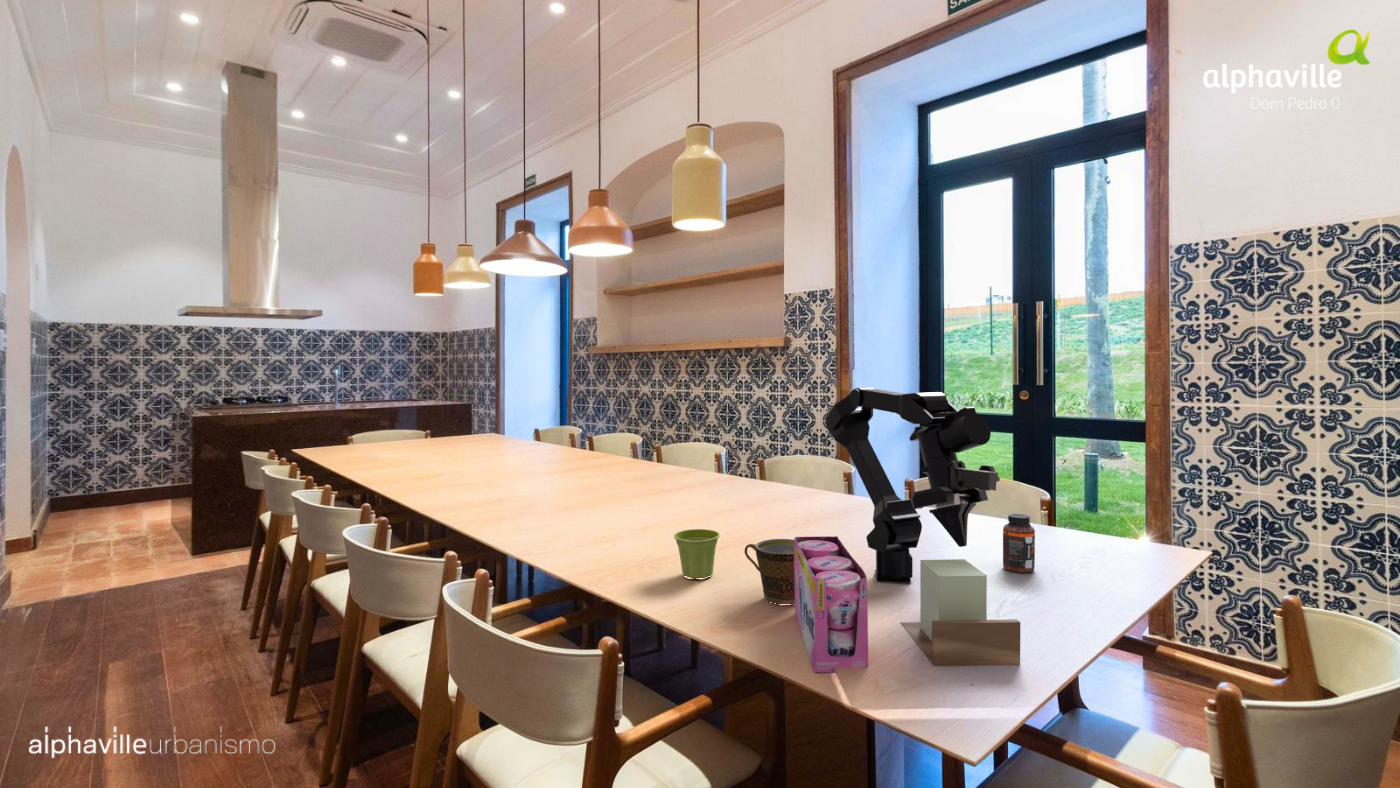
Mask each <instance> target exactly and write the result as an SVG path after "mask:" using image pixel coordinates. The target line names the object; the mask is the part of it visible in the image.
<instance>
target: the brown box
mask: <svg viewBox="0 0 1400 788" xmlns="http://www.w3.org/2000/svg"><path fill="white" fill-rule="evenodd" d="M900 625H901V626H902V627H903V628H904V630H905V631H906V632H907V634H908V635H909V636H910V637H911V638H912V640H913V641H914V642H915V643H916V645H917V646H918V647H919V649H920V650H921V651H922V652H923V654H924V656H926V658H927V659H928V660H929V661H930V663H931V664H932V665H933V666H934V667H938V666H940V667H941V666H944V667H945V666H950V667H951V666H952V667H953V666H1002V665H1006V666H1009V665H1011V666H1012V665H1017V666H1018V665H1021V621H1019V619H1016V618H1014V619H987V620H942V621H932V641H931V640H930V639H929V638H928V636H927V635H926V634H925V633H924V632H923V631H922V629H921V628H920V621H917V622H916V621H913V622H910V621H909V622H900Z"/></svg>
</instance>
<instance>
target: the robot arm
mask: <svg viewBox="0 0 1400 788" xmlns="http://www.w3.org/2000/svg"><path fill="white" fill-rule="evenodd" d="M860 407H861V408H860ZM874 410H878V411H882V412H883V411H884V412H888V413H894V414H897V415H898V416H899V417H900V418H901V419H902V420H904V421H907V422H908V423H911V424H912V425H921V424H922V425H925V426H915V427H914V429H913V432H912V433H911V434H910V436H909V441H911V442H914V441H916V442H917V441H918V444H919V447H920V453H921V456H922V460H923V463H924V466H922V467H920V470H921V473H922V474H926V475H927V479H928V483H929V487H930V488H926V489H922V490H918V491H914V492H913V493H912V494H911V497H910V499H901V498H900V497H899V496H898V495H897V493H896V492H895V489H894V487H893V486H892V484H891V483H892V482H891V481H890V479H889V478H888V475H887V472H886V471H885V469H884V468H883V466H882V464H881V461H880V460H879V458H878V456H877V454H876V451H875V449H874V448H873V446H872V443H871V442H870V439H869V436H870V435H869V434H870V428H871V427H870V420H872V418H873V416H874ZM825 424H826V427H827V430H828V431H829V433H830V434H831V436H832V437H833V439H834V440H835V442H837V443H839V444H840V445H841V446H842V447H844V448H845V449H846V450H847V453H848V454H849V456H850V459H851V460H852V463H853V465H854V467H855V468H856V471H857V473H858V475H859V477H860V480H861V481H862V484H863V485H864V488H865V489H866V492H867V494H868V496H869V498H870V499H871V502H872V504H873V507H874V510H873V516H872V523H873V526H874V527H873V528H872V530H871V531H870V532H869V533H868V534H867V535H866V536H865V537H866V542H867V546H868V548H869V549H871V550H874V551H875V570H874V574H875V579H876V582H878V583H879V582H880V583H895V584H896V583H897V584H898V583H899V584H911V583H912V578H913V565H914V564H913V560H914V558H913V556H912V554H911V553H910V549H916V548H918V544H919V540H920V536H921V533H922V530H923V526H922V521H921V520H920V518H921V515H920V514H919V513H918V511H917V510H920V509H923V508H926V507H930V506H935V508H934V509H933V508H932V509H929V513H930V514H932V515H933V517H935V519H936V520H937V521H938V522H939V523H940V524H941V526H942V527H943V528H944V530H946V532H947V533H948V535H949V536H950V537H951V538H952V539H953V541H954V542H955V544H956V545H957V546H958V547H959V548H963V547H967V545H968V520H969V513H970V512H972V510H973V508H975V507H976V505H977V504H978V503H981V502H985V501H986V502H987V501H989V497H988V493H987V491H989V492H990V491H993V492H994V491H997V483H998V482H999V481H1000V480H1001V479H1000V477H999V472H998V471H996V470H995V468H994V466H993V465H984V464H982V465H980V467H979V468H978V469H973V468H972V469H971V468H967V466H966V464H965V462H963V460H959V459H958V455H957V453H958V454H959V453H962V452H965V451H969V450H971V449H972V450H973V449H975V448H978V447H981V446H983V445H985V444H987V443H988V442H989V441H990V439H991V435H992V434H991V433H992V432H991V427H990V424H989V423H988V422H987V421H986V420H985V418H984V417H983V416H982V415H981V414H979V413H977V412H976V408H975V407H974V406H967V407H962V408H961V409H959V410H958V409H957V407H955V406H954V405H953V404H952V403H951V402H949V400H948V399H947V395H946V394H945V393H943V392H941V391H940V392H939V391H934V392H933V391H931V392H910V393H903V392H896V391H890V390H889V391H888V390H882V389H876V388H874V387H871V386H870V387H866V386H865V387H855V388H854V389H852V390H851V391H850V392H849V393H848V395H847V396H846V397H844V398H843V399H841V400H840V401H838V402H837V403H836V404H834V406H833V407H832V409H831V410H830V411H829V413H828V414H827V416H826V418H825ZM927 425H929V426H927ZM926 426H927V427H926Z"/></svg>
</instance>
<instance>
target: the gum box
mask: <svg viewBox="0 0 1400 788" xmlns="http://www.w3.org/2000/svg"><path fill="white" fill-rule="evenodd" d="M793 540H794V585H795V605H794V614H796V615H795V617H797V618H796V621H798V622H797V624H799V625H798V626H799V630H801V631H800V634H801V637H802V636H803V637H802V639H803V644H804V647H805V648H806V652H807V654H808V655H807V656H808V658H809V661H810V663H811V667H812V669H813V673H831V674H832V673H833V674H837V671H836V670H835V669H844V668H845V669H857V668H858V669H861V668H863V669H864V668H867V669H868V668H869V622H868V621H869V620H868V619H869V618H868V613H869V611H868V606H869V605H868V578H867V574H866V572H865V571H864V569H863V568H862V566H860V564H859V563H858V562H857V560H855V558H854V557H853V556H852V555H851V553H850V552H849V551H848V550H847V548H846V547H845V545H844V544H843V542H842V541H841V540H840V539H839V536H835V535H834V536H828V535H827V536H794V538H793Z"/></svg>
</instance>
